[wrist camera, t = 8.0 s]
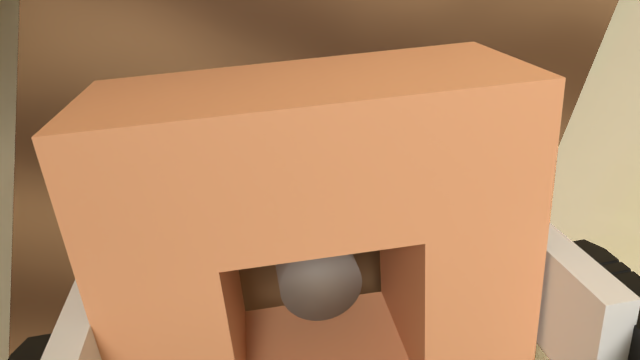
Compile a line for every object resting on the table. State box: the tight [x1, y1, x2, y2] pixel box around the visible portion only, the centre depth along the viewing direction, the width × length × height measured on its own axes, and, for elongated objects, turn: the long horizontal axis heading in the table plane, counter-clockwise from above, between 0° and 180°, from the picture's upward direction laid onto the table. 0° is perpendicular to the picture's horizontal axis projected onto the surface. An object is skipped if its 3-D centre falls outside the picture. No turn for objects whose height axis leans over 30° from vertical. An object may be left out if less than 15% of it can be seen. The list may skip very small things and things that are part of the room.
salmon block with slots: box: [31, 42, 566, 360], centre depth 15 cm, size 13×10×4 cm
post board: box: [9, 0, 618, 356], centre depth 17 cm, size 20×18×6 cm
